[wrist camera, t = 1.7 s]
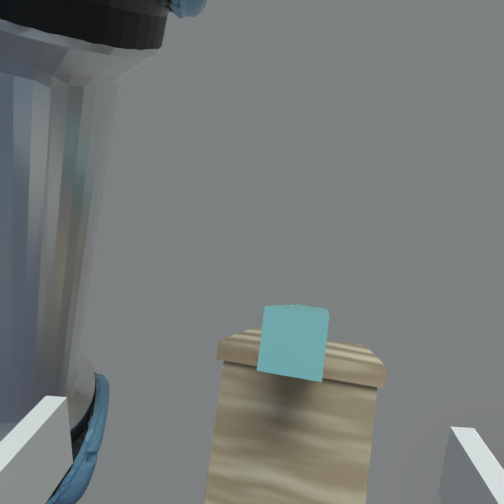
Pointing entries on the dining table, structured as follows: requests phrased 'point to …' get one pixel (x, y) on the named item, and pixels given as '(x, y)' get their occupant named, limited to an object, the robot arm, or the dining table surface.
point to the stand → (293, 428)
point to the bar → (294, 341)
